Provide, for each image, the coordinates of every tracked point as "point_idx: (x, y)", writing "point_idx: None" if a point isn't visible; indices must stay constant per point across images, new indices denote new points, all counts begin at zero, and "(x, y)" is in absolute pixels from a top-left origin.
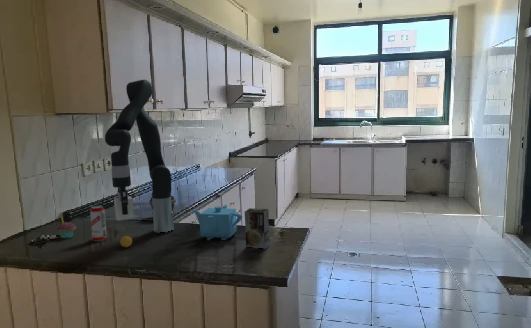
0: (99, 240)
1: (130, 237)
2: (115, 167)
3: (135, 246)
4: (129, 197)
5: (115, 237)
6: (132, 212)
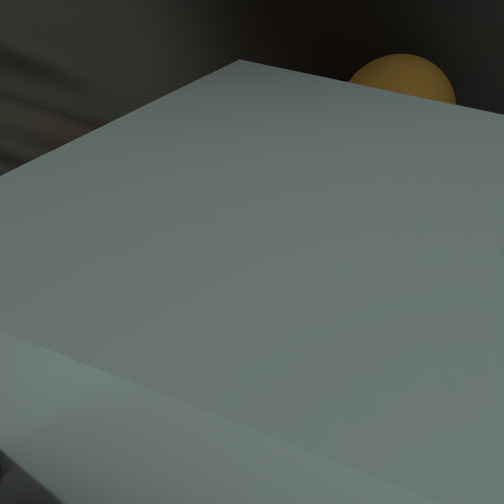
0: None
1: (411, 81)
2: None
3: (449, 24)
4: (226, 479)
5: (78, 86)
6: None
